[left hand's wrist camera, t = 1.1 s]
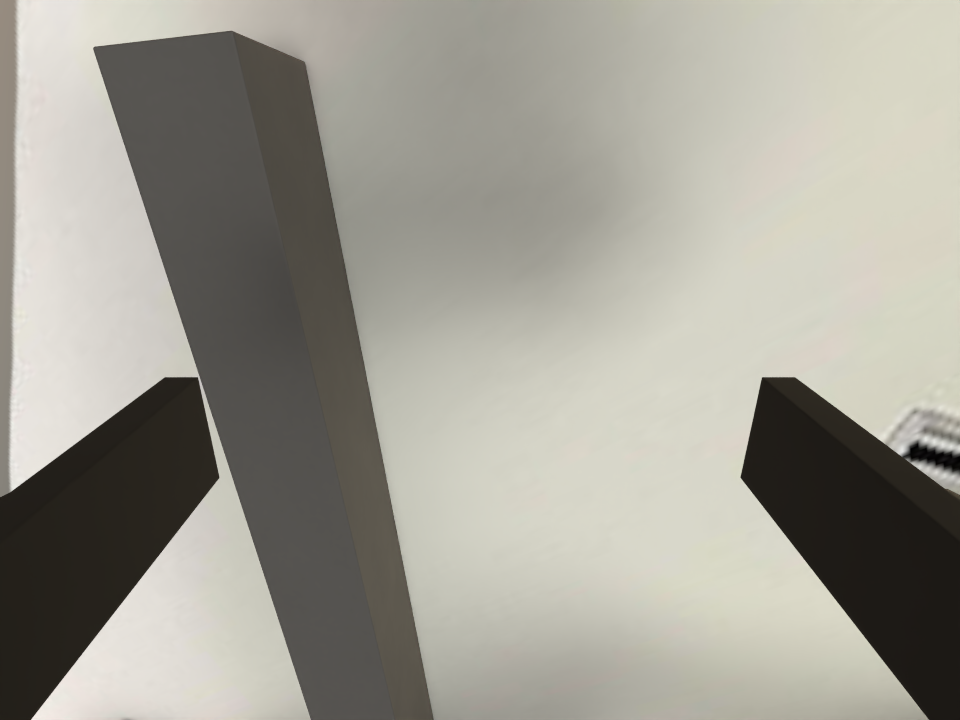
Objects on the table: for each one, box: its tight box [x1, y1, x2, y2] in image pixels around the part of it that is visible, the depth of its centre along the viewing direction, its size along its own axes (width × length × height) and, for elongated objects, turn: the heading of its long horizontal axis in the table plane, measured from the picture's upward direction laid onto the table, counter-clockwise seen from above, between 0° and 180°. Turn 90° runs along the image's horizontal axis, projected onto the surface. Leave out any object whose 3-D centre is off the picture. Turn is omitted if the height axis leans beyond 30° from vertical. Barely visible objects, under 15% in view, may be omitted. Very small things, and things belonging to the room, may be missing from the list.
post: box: [93, 31, 433, 720], centre depth 34 cm, size 55×5×9 cm, turn 6°
